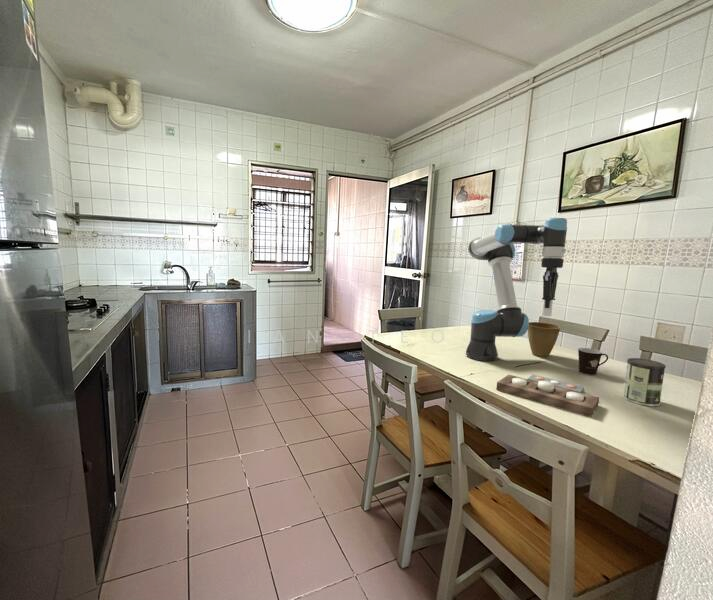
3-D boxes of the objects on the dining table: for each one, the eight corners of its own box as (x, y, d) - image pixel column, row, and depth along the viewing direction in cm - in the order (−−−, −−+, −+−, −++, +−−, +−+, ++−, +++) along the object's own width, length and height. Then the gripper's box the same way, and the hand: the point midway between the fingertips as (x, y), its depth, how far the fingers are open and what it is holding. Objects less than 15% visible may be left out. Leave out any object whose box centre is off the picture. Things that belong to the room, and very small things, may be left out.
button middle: (535, 389, 120) (536, 383, 120) (540, 386, 124) (540, 379, 123) (551, 393, 117) (552, 387, 116) (555, 389, 120) (555, 383, 120)
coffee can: (656, 398, 121) (661, 361, 120) (663, 409, 113) (669, 369, 111) (620, 392, 127) (625, 356, 125) (624, 401, 118) (629, 363, 116)
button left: (509, 386, 126) (510, 380, 126) (514, 383, 130) (514, 376, 130) (523, 390, 123) (524, 383, 123) (528, 386, 127) (528, 380, 126)
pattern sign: (526, 383, 134) (527, 377, 133) (532, 379, 139) (532, 373, 138) (579, 397, 121) (580, 391, 121) (583, 391, 126) (584, 386, 126)
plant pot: (521, 355, 172) (523, 324, 170) (528, 349, 183) (531, 320, 181) (554, 361, 163) (557, 329, 160) (559, 355, 174) (563, 324, 172)
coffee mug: (577, 373, 146) (579, 351, 145) (574, 368, 154) (577, 346, 152) (609, 378, 141) (612, 355, 139) (605, 372, 148) (608, 350, 147)
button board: (496, 389, 127) (496, 382, 126) (508, 381, 135) (508, 374, 135) (591, 417, 106) (592, 408, 106) (598, 405, 115) (599, 397, 114)
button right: (564, 401, 114) (564, 394, 114) (567, 397, 118) (568, 390, 117) (581, 406, 111) (582, 399, 110) (584, 401, 114) (585, 394, 114)
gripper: (559, 257, 126) (552, 319, 130) (567, 258, 136) (561, 315, 139) (537, 257, 132) (532, 316, 135) (547, 257, 141) (541, 312, 144)
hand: (547, 315), depth 137 cm, fingers closed
